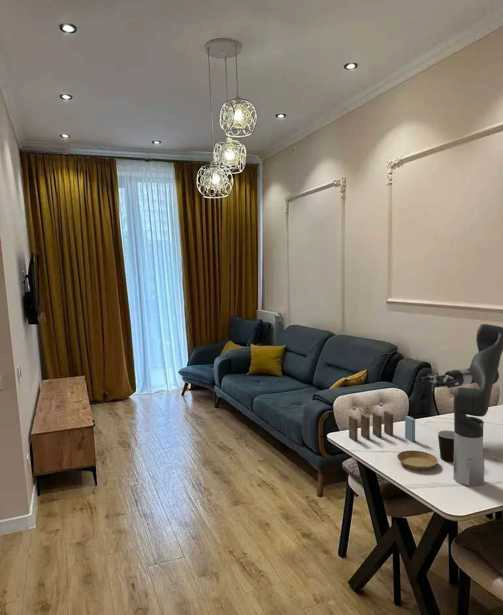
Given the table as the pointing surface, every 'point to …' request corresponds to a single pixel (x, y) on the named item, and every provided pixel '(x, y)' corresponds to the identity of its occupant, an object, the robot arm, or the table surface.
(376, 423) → the domino
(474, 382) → the robot arm
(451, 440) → the coffee mug
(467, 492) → the table surface
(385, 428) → the domino
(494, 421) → the table surface
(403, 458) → the plant saucer
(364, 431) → the domino
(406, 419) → the domino
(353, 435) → the domino
